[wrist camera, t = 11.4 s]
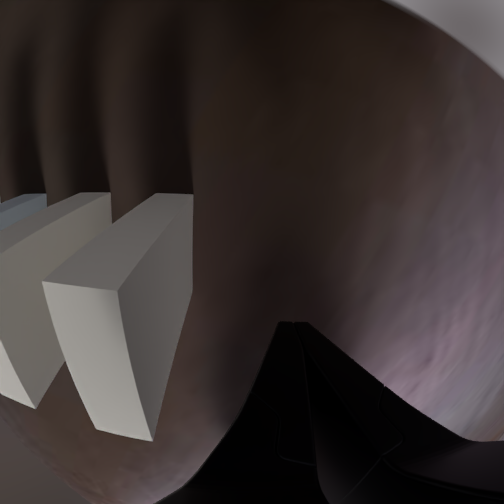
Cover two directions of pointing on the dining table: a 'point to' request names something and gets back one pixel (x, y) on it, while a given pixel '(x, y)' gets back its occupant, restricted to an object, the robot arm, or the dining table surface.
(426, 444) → the robot arm
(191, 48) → the dining table surface
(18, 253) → the domino
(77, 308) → the domino
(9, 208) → the domino
